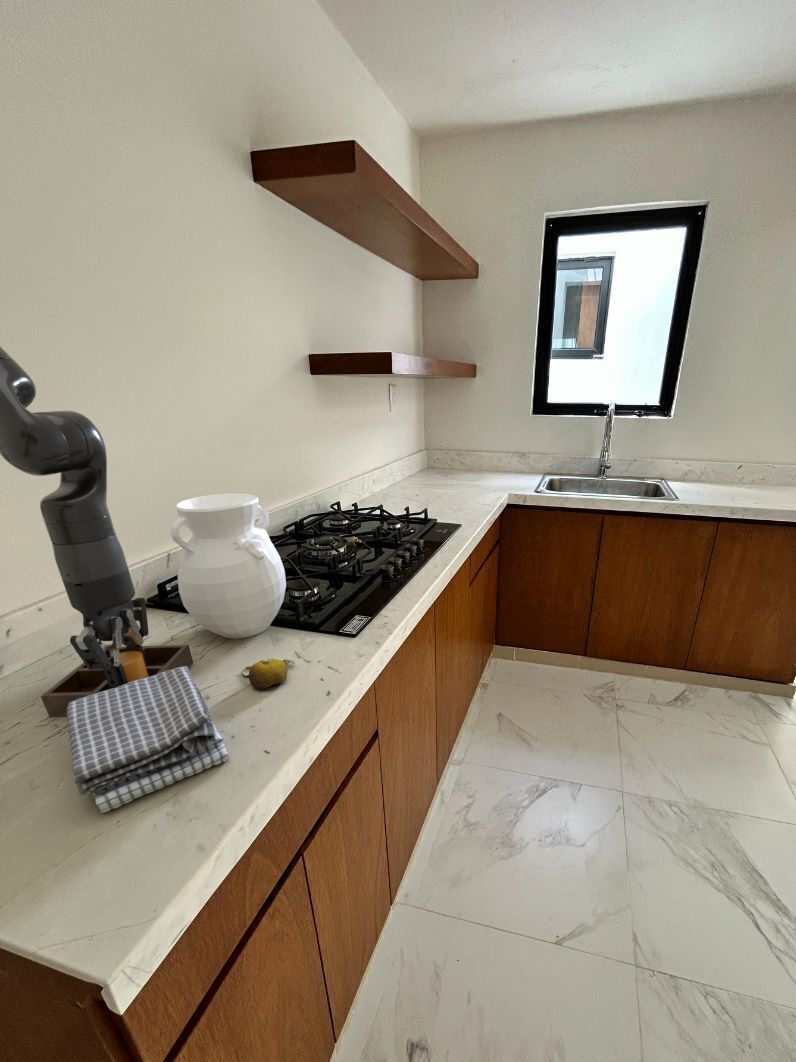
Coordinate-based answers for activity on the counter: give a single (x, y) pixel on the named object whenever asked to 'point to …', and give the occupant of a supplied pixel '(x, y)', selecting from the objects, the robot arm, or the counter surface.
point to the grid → (95, 681)
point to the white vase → (228, 565)
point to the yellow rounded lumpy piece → (267, 673)
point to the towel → (141, 737)
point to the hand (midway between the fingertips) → (129, 676)
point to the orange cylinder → (133, 665)
